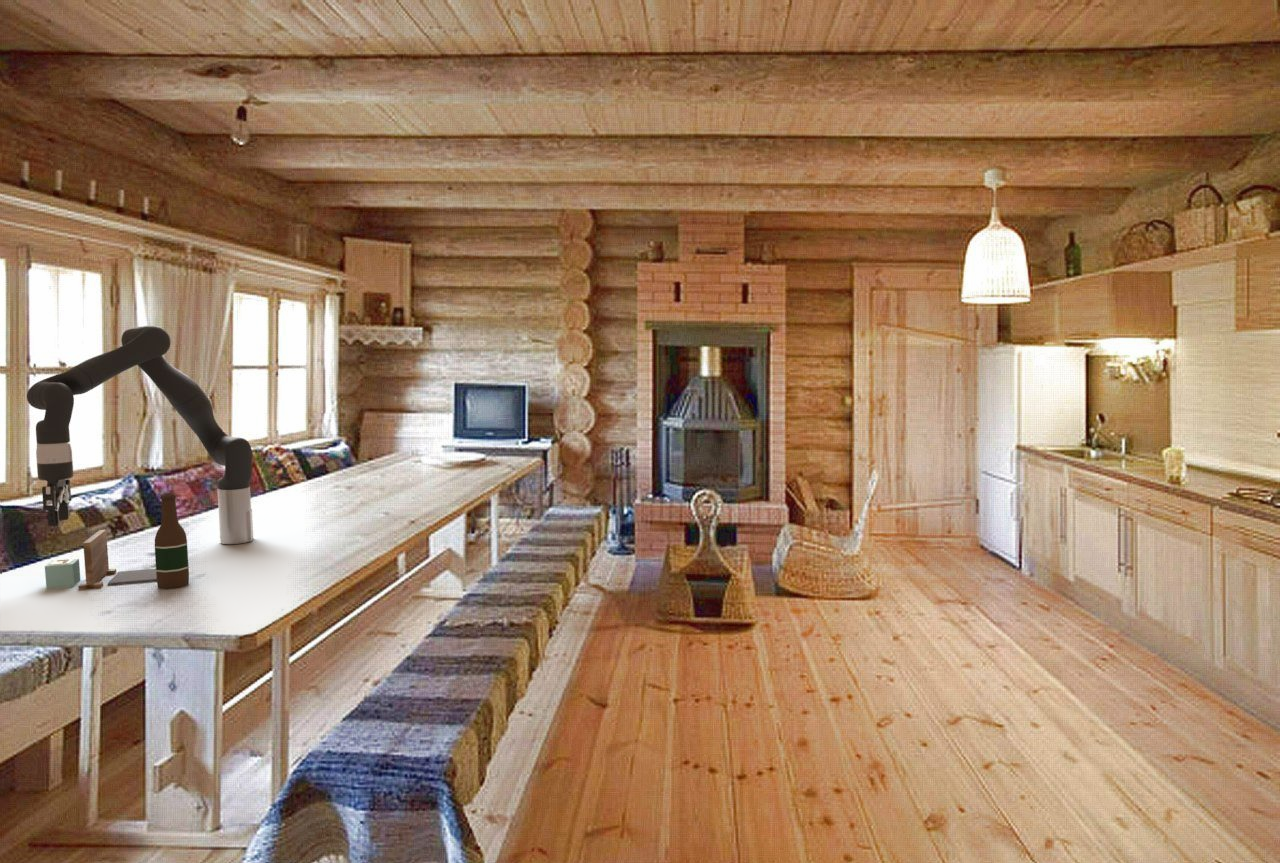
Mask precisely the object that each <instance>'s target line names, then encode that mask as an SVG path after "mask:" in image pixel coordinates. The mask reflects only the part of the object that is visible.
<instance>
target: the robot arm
mask: <svg viewBox="0 0 1280 863" xmlns="http://www.w3.org/2000/svg"><path fill="white" fill-rule="evenodd" d="M120 340H121V341H120V342H121V346H119V347H117V348H115V349H112V350H110V351H107V352H105V353H100V354H98V355H95V356H93V357H91V358H88V359H86V360H84V361H82V362H80V363H78V364H77V365H75V366H73V367H72V368H71V367H70V368H69V369H68V370H66V371H64V372H61V373H58V374H55V375H52V376H50V377H47V378H43V379H42V380H40V381H39V380H38V382H36V383H34V384H33V385H31V387H29V389H28V390H27V393H26V399H27V400H26V401H27V402H28V404H29V405H30V406H31V407H33V408H34V409H38V410H41V411H45V412H44V418H43V419H41V420H39V421H38V422H37V423H36V424H35V438H36V450H35V452H36V453H35V456H36V468H37V480H39V481H43V482H44V481H46V482H47V483H46V486H42V487H41V488H42V489H41V491H42V510H43V511H45V512H46V513H47V514H46V516H47V525H48V527H57V526H59V525H60V521H67V520H69V519H70V512H69V511H70V510H69V506H70V503H71V501H72V493H71V480H70V479H72V478H73V477H74V463H73V452H72V451H73V449H72V446H71V436H70V424H71V420H72V419H71V418H72V414H73V410H74V404H75V396H78V395H83V394H85V393H89V391H92V390H93V389H95V388H97V387H98V386H100V385H102V384H104V383H105V382H107V381H109V380H110V379H112V378H114V377H116V376H118V375H119V374H121V373H123V372H126V371H127V370H129V369H131V368H133V367H135V366H138V367H139V368H140V369H141V370H142V371H143V372H144V373H145V374H146V375H147V376H148V377H149V379H150V380H151V381H152V382H153V383H154V385H155V386H156V387H157V388H158V389H159V391H160V392H161V393H162V394H163V395H164V397H165V398H166V399H167V400H168V402H169V403H170V405H171V406H172V407H173V409H174V410H175V411H176V412H177V413H178V415H180V417H181V418H182V420H184V422H185V423H186V424H187V425H188V426H189V427H190V429H191V430H192V431H193V433H194V434H195V435H196V436H197V438H198V439H199V441H200V442H201V444H202V446H203V447H204V448H205V450H206V452H207V453H208V455H209V456H210V458H211V460H213V462H215V463H216V464H217V465H220V466H222V467H223V466H224V475H223V476H222V477H220V478H218V479H217V484H216V485H217V488H216V489H217V501H218V502H217V504H218V523H219V539H220V540H219V541H220V544H222V545H223V544H224V545H238V544H240V545H241V544H244V543H251V542H253V540H254V526H253V524H254V523H253V509H252V502H251V501H252V500H251V479H252V477H253V451H252V446H251V444H250V442H249V441H248V440H247V439H245V438H243V437H239V436H238V437H236V436H229V435H228V434H227V433H225V432H224V430H223V429H222V428H221V426H220V425H219V424H218V423H217V420H216V419H215V416H214V409H213V406H212V403H211V402H212V401H211V400H210V398H209V397H208V396H207V395H206V393H205V392H204V391H203V389H202V387H201V386H200V385H199V384H198V383H197V382H196V381H195V380H194V379H192V378H191V377H190V376H188V375H187V374H185V373H183V372H182V371H181V370H179V369H178V368H176V367H175V366H173V365H172V364H171V363H170V362H168V360H167V359H165V357H164V355H165V354H166V353H167V352H168V351H169V350H170V348H171V337H170V335H169V333H168V332H167V331H166V329H164V328H163V327H161V326H157V325H143V326H142V325H141V326H135V327H130V328H128V329H126V330H124V332H122V335H121V339H120Z"/></svg>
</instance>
